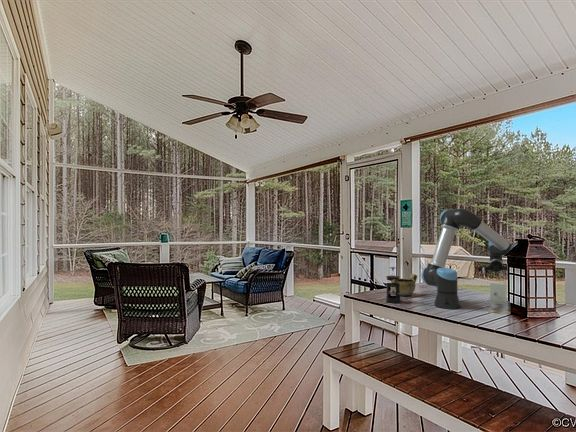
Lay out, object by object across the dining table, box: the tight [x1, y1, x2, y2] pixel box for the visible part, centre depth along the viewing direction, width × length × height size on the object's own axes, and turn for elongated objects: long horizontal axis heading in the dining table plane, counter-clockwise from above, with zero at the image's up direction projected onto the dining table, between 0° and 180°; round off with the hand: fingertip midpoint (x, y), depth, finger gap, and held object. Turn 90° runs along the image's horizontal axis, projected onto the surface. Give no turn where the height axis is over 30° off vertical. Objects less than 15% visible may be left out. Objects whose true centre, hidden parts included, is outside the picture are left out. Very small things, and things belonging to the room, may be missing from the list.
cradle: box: [487, 300, 511, 315], centre depth 208 cm, size 11×6×6 cm, turn 63°
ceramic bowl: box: [389, 273, 418, 297], centre depth 261 cm, size 22×17×15 cm
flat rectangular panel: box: [489, 282, 507, 304], centre depth 213 cm, size 8×3×16 cm, turn 63°
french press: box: [385, 266, 402, 305], centre depth 239 cm, size 12×9×23 cm
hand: (495, 271), depth 222 cm, fingers open, 13 cm apart
